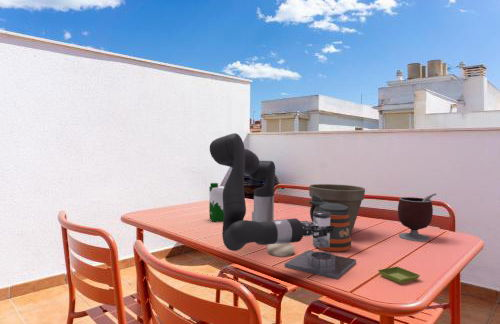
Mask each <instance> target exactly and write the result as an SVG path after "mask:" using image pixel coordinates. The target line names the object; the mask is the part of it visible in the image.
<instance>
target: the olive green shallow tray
mask: <svg viewBox="0 0 500 324" xmlns="http://www.w3.org/2000/svg"><path fill="white" fill-rule="evenodd" d="M377 272H378V273H379V274H380V275H381V277H383V278H386V279H388V280H390V281H393V282H395V283H397V284H400V285H401V284H404V283H409V282H414V281H416V280H418V279H419V278H420V276H421V275H420V274H418V273H416V272H413V271H411V270H408V269H405V268H402V267H401V266H393V267H386V268H381V269H378V270H377Z"/></svg>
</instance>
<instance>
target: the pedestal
mask: <svg viewBox="0 0 500 324" xmlns="http://www.w3.org/2000/svg"><path fill="white" fill-rule="evenodd" d="M266 246H267V247H266V248H267V254H268V255H270V256H273V257H283V258H284V257H290V256H293V255H294V253H295V245H294V244H292V243H284V244H268V245H266Z"/></svg>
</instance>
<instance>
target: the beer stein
mask: <svg viewBox="0 0 500 324" xmlns="http://www.w3.org/2000/svg"><path fill="white" fill-rule="evenodd" d="M308 203H309V205H311V206H310V209H309V215H310V219H311V220H310V221H311V222H313V212H314V209H315V207H316V206H318V207H319V210H318V211H324V212H329V213H331V217H330V226H334V232H333V233H330V246H329V247H327V248H320V247H316V248H317V249H319V250H320V251H323V252H329V253H331V252H332V253H345V252H348V251H350V250H351V249H352V236H351V235H350V228H349V225H350V221H349V213H348V210H349V207H347V206H345V205H342V204H337V203H328V202H323V199H322V198H321V197H320V196H318V195H316V194H314V195H313V198H311V200H309V201H308Z"/></svg>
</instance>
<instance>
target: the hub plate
mask: <svg viewBox="0 0 500 324" xmlns="http://www.w3.org/2000/svg"><path fill="white" fill-rule="evenodd" d="M356 263H357V259H355V258H351V257H350V258H349V257H345V256H342V255H341V256H340V255H335V254H333V253H331V252H329V251H321V250H320V251H317V250H316V251H314V250H309V249H307V250H306V251H305V252H302V253H300V254H298V255H297V256H295V257H293V258H291V259H290V260H288V261H287V262H284V268H288V269H293V270H296V271H301V272H305V273H309V274H314V275H317V276H318V275H319V276H323V277H326V278H330V279H335V280H338V279H339V278H340V277H342V275H344V274H345V273H346V272H347V271H349V270H350V269H351V268H352V267H353V266H355V265H356Z"/></svg>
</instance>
